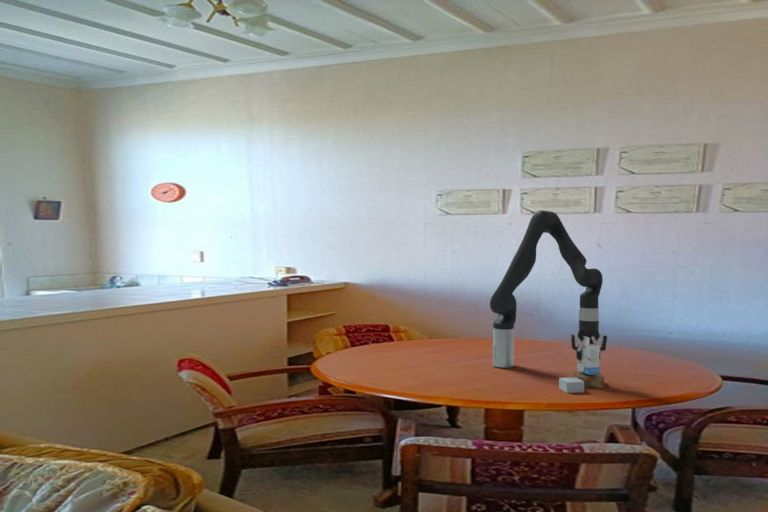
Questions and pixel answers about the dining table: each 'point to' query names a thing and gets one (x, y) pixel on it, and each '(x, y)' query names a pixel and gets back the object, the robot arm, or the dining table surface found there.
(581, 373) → the tan block
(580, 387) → the grey block
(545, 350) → the dining table surface
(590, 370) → the ink box
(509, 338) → the robot arm
